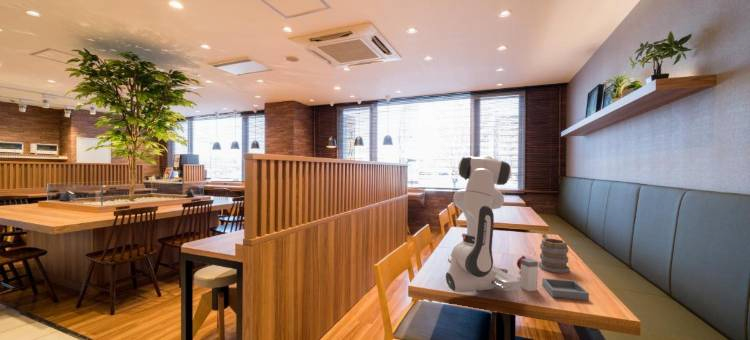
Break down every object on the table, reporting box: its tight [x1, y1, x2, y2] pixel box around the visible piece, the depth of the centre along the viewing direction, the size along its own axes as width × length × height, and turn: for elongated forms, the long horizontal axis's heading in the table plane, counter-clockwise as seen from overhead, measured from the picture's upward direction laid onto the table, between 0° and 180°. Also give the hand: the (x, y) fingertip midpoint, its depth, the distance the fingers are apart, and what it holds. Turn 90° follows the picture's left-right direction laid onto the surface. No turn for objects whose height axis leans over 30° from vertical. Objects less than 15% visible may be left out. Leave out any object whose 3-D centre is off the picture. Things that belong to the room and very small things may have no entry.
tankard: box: [538, 233, 571, 274], centre depth 156 cm, size 20×13×15 cm, turn 168°
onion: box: [516, 254, 528, 271], centre depth 148 cm, size 6×6×8 cm
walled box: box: [541, 277, 590, 302], centre depth 124 cm, size 13×13×3 cm
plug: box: [520, 257, 539, 292], centre depth 128 cm, size 4×4×12 cm
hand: (514, 275), depth 126 cm, fingers open, 8 cm apart
